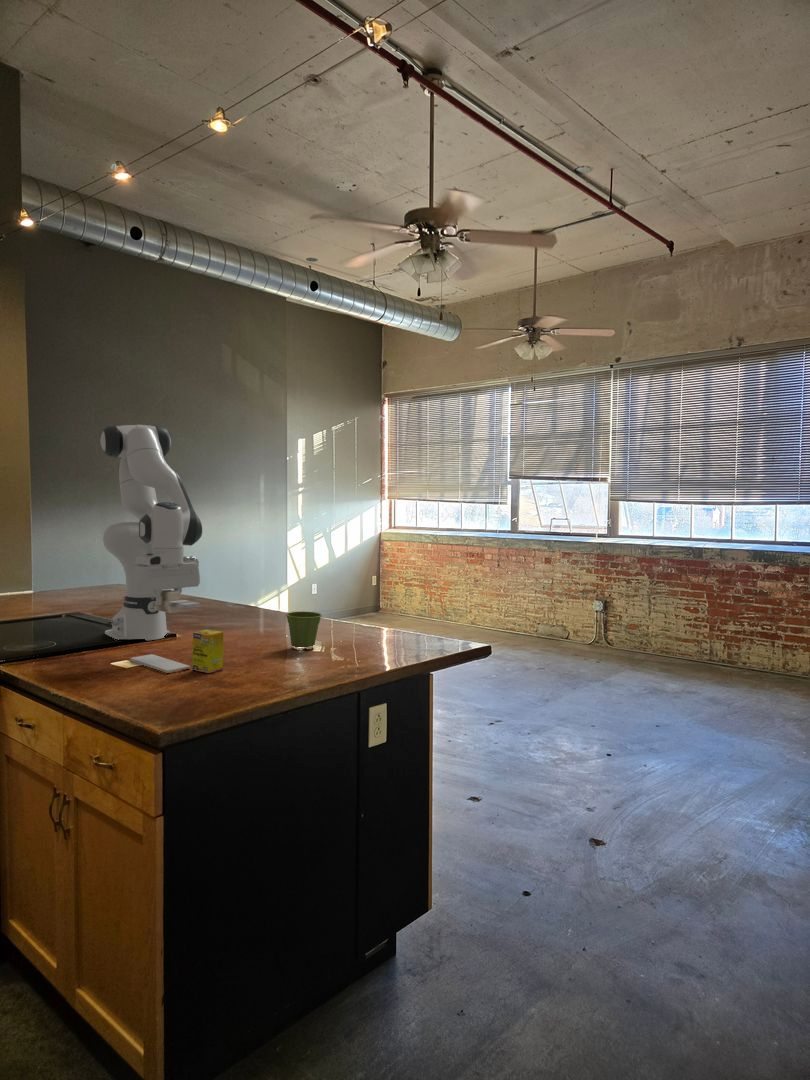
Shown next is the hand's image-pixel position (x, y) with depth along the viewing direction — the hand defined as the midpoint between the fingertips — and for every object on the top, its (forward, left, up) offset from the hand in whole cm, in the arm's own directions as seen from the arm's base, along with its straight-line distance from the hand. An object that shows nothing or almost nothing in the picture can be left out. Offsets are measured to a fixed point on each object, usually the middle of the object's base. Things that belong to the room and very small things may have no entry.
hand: (167, 603), depth 205 cm
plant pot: (+18, +38, -16) cm, 45 cm away
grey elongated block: (+5, 0, -2) cm, 5 cm away
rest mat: (+7, -6, -16) cm, 19 cm away
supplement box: (+21, 0, -16) cm, 27 cm away
